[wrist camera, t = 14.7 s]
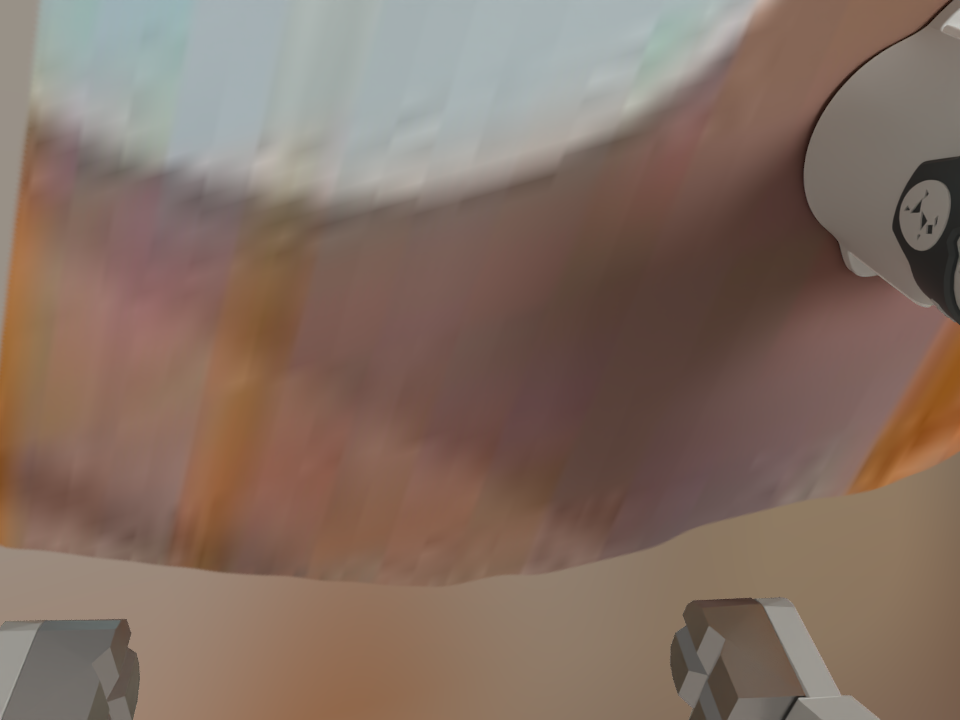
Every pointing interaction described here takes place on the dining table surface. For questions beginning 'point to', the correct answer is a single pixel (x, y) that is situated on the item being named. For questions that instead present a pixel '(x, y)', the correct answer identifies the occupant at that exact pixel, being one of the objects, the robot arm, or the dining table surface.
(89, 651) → the robot arm
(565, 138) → the dining table surface
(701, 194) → the dining table surface
